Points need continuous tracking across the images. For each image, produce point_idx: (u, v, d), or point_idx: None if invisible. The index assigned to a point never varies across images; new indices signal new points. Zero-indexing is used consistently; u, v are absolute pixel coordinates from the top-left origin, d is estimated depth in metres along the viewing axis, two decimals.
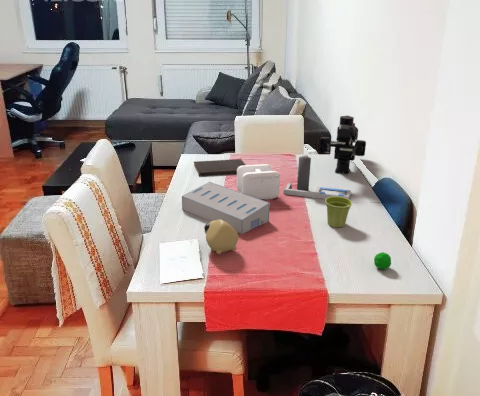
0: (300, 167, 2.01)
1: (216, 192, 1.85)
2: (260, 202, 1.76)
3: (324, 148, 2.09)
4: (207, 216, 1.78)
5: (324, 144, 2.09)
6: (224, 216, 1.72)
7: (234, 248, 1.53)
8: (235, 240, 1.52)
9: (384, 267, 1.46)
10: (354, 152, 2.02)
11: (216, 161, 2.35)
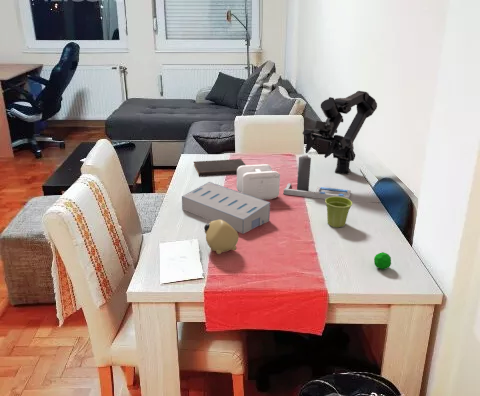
0: (300, 167, 2.01)
1: (216, 192, 1.85)
2: (261, 202, 1.76)
3: None
4: (208, 216, 1.78)
5: None
6: (225, 216, 1.72)
7: (234, 248, 1.53)
8: (235, 240, 1.52)
9: (384, 267, 1.46)
10: (328, 153, 2.05)
11: (216, 161, 2.35)
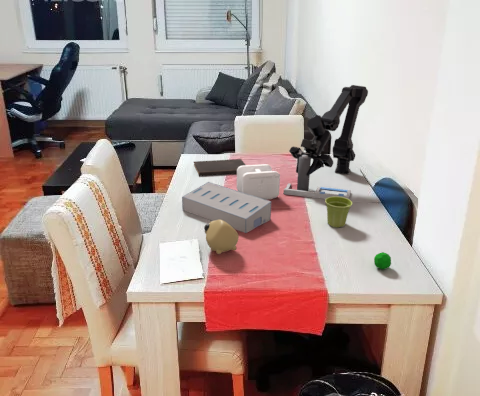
0: (300, 167, 2.01)
1: (216, 192, 1.85)
2: (262, 201, 1.77)
3: None
4: (209, 216, 1.78)
5: None
6: (227, 216, 1.72)
7: (234, 248, 1.53)
8: (235, 240, 1.52)
9: (384, 267, 1.46)
10: (311, 171, 2.02)
11: (216, 161, 2.35)
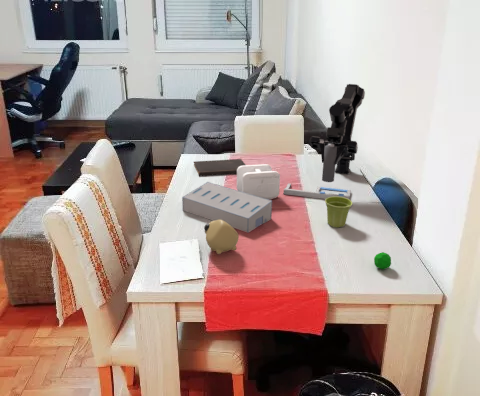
0: (328, 156, 1.96)
1: (216, 192, 1.85)
2: (263, 200, 1.78)
3: (320, 148, 2.03)
4: (210, 216, 1.78)
5: (319, 146, 2.01)
6: (229, 215, 1.72)
7: (234, 248, 1.53)
8: (235, 240, 1.52)
9: (384, 267, 1.46)
10: (338, 160, 1.98)
11: (216, 161, 2.35)
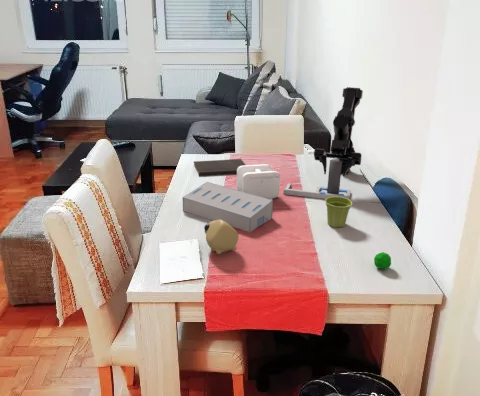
0: (333, 171, 1.98)
1: (216, 192, 1.85)
2: (263, 200, 1.78)
3: (321, 160, 2.04)
4: (212, 216, 1.78)
5: (320, 158, 2.03)
6: (231, 215, 1.72)
7: (234, 248, 1.53)
8: (235, 240, 1.52)
9: (384, 267, 1.46)
10: (346, 172, 1.99)
11: (216, 161, 2.35)
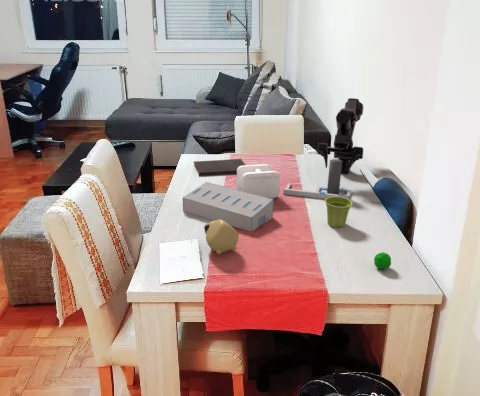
0: (333, 171, 1.98)
1: (216, 192, 1.85)
2: (264, 199, 1.79)
3: (322, 154, 2.13)
4: (212, 216, 1.78)
5: (322, 152, 2.11)
6: (232, 215, 1.73)
7: (234, 248, 1.53)
8: (235, 240, 1.52)
9: (384, 267, 1.46)
10: (351, 166, 2.07)
11: (216, 161, 2.35)
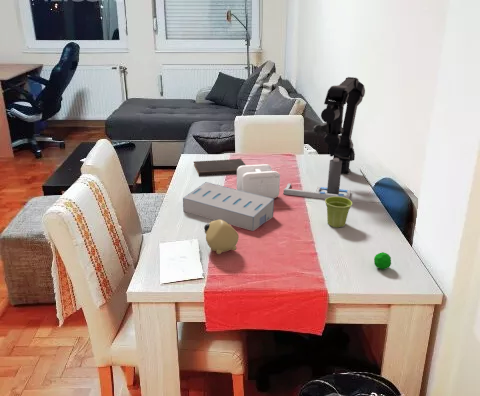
0: (333, 171, 1.98)
1: (216, 192, 1.85)
2: (264, 198, 1.79)
3: None
4: (213, 216, 1.78)
5: None
6: (233, 215, 1.73)
7: (234, 248, 1.53)
8: (235, 240, 1.52)
9: (384, 267, 1.46)
10: (332, 152, 2.06)
11: (216, 161, 2.35)
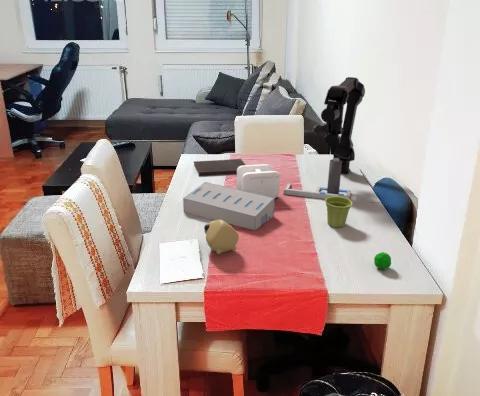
0: (333, 171, 1.98)
1: (216, 192, 1.86)
2: (265, 198, 1.80)
3: None
4: (214, 215, 1.78)
5: None
6: (234, 214, 1.73)
7: (234, 248, 1.53)
8: (235, 240, 1.52)
9: (384, 267, 1.46)
10: (332, 150, 2.09)
11: (216, 161, 2.35)
